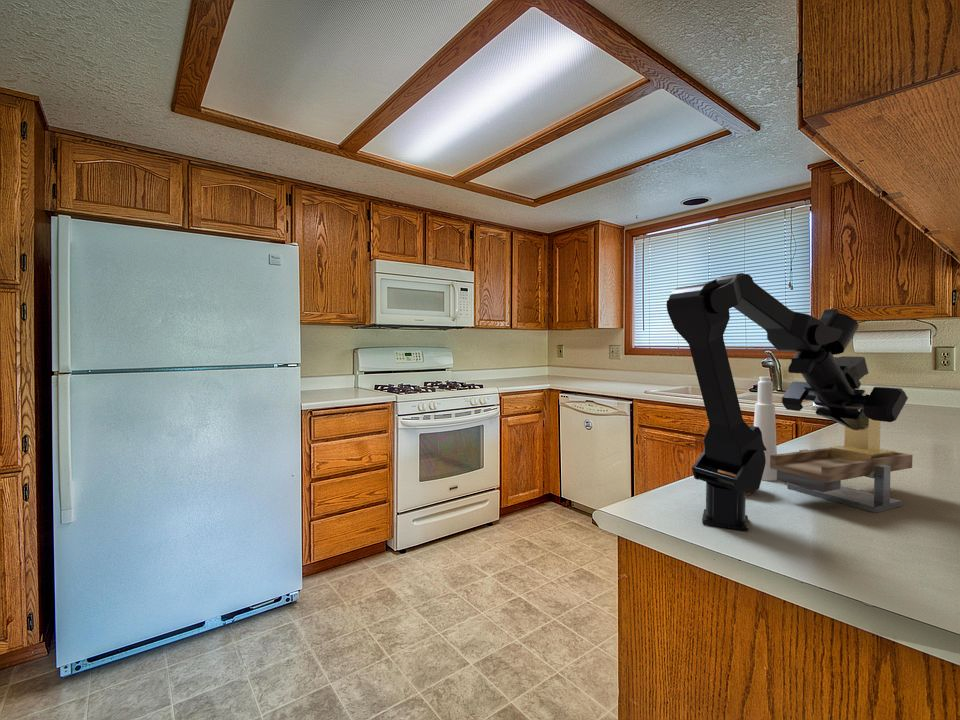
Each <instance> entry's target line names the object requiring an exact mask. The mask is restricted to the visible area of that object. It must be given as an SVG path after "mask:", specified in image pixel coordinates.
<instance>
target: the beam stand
mask: <svg viewBox="0 0 960 720" xmlns="http://www.w3.org/2000/svg"><path fill="white" fill-rule="evenodd" d="M807 450H808V449H799V451H807ZM799 451H798V452H799ZM890 471H891V466H888V465H883V464H879V465H875V473H874V478H873V480H874V482H873V487H874V489H873V493H871V492H868V491H864V490H859V489H855V488H851V487H847V486H843V485H841V488H840V489H838V490H832V491H827V492H820V491H816V490H812V489H809V488H805V487H801V486H797V485H794V484H790V483H787V489H788V490H791V489H792V491H795V492H799V493H801V494H802V493H803V494H806V495H809V494H810V496H813V497H817V498H821V499H825V500H827V499H828V501H831V502H836V503H839V504H842V505H845V504H847V505H846V506H849V505H850V506H849V507H852V506H854V507H853V508H856V507H857V509H860V508H861V509H860V510H863V509H864V511H866V512H870V511H871V513H873V514H874V513H876V512H877V513H881V512H883V511H888V510H892V509H896V508H901V507H902V500H900V499H896V498H892V497H891V472H892V471H891V472H890ZM877 513H876V514H877Z"/></svg>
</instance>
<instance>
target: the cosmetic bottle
mask: <svg viewBox="0 0 960 720" xmlns="http://www.w3.org/2000/svg"><path fill="white" fill-rule="evenodd" d="M773 388H774V385H773V381H772V377H771V376H759V381H757V402H756V403H755V404H754V414H753V415H754V418H753V426H755V427H759V429H760V430H761V432H762V440H763V444H764V446H765V448H766V451H764V453H765V458H766V463H765V468H764V472H763V476H762V480H761V481H765V482H766V481H767V482H775V481H778V480H777V470H775V469H771V468H770V455H775V454H778V450H777V430H776V429H777V425H776V424H777V423H776V422H777V421H776V406H775V404H774V403H773V396H774V395H773V394H774V393H773V392H774V390H773Z"/></svg>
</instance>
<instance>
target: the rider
mask: <svg viewBox="0 0 960 720" xmlns="http://www.w3.org/2000/svg"><path fill="white" fill-rule="evenodd" d="M881 422H882V421H876V420H872V419H870V418H868V417H866V416H865V414H864V413H862V415H861V416H860V428H859V430H852V429H850V428H848V427H846V426H844V440H843V441H844V444H843V445H836V446H835V445H834V446H830V447H829V448H830V457H831V458H836V459H841V460H846V461H851V462H854V461H861V460H868V459H874V458H881V457H888V456H894V455H895V452H896V451H895V450H892V449H891V450H890V449H884V448H881Z"/></svg>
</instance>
